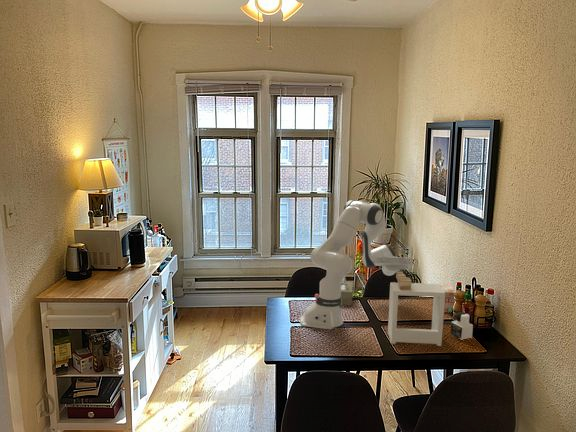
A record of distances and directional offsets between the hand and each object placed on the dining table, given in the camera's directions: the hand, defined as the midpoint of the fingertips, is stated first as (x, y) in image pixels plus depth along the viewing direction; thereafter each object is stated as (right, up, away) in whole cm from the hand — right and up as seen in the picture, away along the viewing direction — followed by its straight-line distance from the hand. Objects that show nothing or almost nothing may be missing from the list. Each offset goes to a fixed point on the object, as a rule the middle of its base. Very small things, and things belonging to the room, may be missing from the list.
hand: (394, 258), depth 244 cm
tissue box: (-25, -27, +25) cm, 45 cm away
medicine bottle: (+27, -36, -24) cm, 51 cm away
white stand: (+3, -36, -27) cm, 45 cm away
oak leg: (-3, -10, -26) cm, 28 cm away
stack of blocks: (+32, -29, +16) cm, 46 cm away
